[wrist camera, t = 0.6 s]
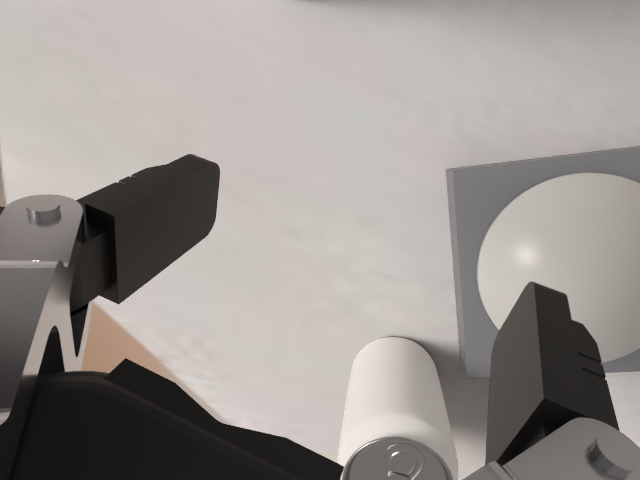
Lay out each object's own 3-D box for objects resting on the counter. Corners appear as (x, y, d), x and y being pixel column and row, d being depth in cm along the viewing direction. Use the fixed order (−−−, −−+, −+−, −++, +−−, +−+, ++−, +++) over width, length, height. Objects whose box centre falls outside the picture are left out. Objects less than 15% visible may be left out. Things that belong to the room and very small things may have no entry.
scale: (444, 168, 31) (454, 171, 27) (675, 141, 29) (726, 139, 24) (459, 355, 33) (469, 384, 29) (673, 344, 31) (719, 374, 27)
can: (446, 345, 33) (478, 449, 21) (426, 421, 34) (447, 558, 23) (360, 325, 34) (346, 416, 22) (344, 401, 35) (323, 524, 23)
